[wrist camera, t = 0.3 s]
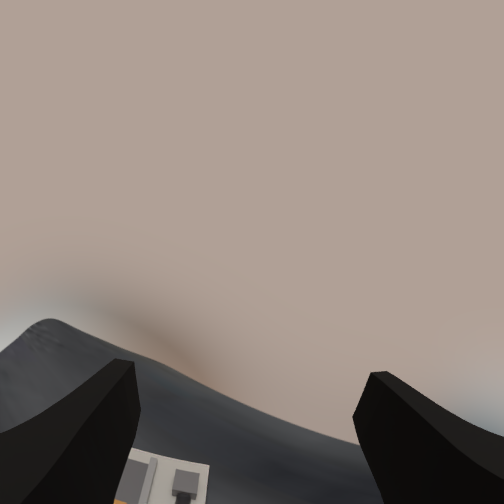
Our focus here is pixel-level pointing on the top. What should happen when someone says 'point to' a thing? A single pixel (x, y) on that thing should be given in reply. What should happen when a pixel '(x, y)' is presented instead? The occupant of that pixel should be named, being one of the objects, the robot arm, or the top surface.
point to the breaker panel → (161, 480)
